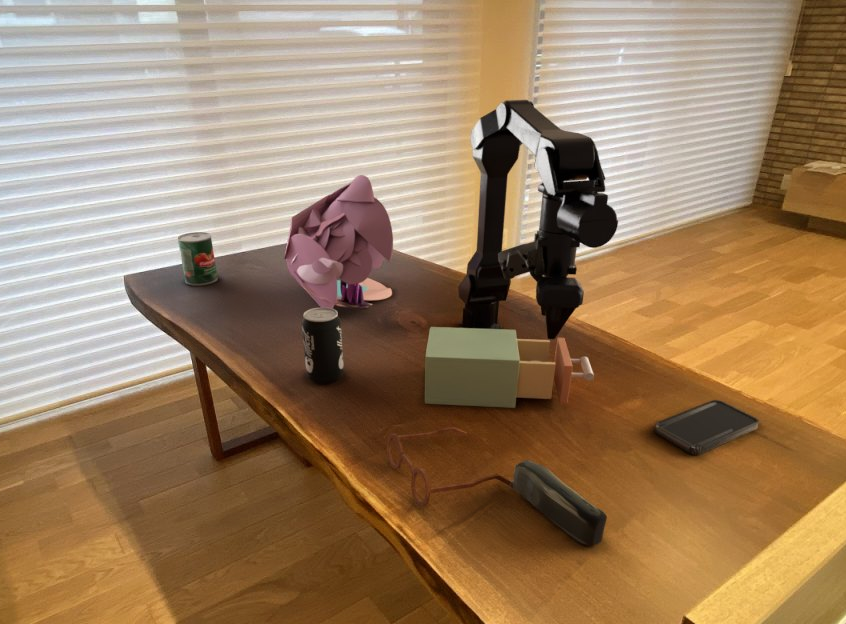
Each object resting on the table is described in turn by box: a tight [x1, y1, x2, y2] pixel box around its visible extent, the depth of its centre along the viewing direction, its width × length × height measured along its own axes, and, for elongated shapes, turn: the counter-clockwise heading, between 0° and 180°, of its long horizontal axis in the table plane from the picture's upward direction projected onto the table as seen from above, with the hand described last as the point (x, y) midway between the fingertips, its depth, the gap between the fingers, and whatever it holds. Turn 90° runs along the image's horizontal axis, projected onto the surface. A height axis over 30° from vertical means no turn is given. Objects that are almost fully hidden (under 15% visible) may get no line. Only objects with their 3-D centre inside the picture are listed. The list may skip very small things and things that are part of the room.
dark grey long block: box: [507, 459, 608, 547], centre depth 76 cm, size 5×3×15 cm
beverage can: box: [301, 306, 345, 385], centre depth 106 cm, size 7×7×12 cm
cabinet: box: [424, 326, 520, 409], centre depth 103 cm, size 15×12×9 cm
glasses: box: [386, 426, 513, 507], centre depth 83 cm, size 13×13×5 cm
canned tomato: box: [176, 231, 219, 287], centre depth 151 cm, size 8×8×11 cm
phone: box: [653, 399, 760, 456], centre depth 93 cm, size 8×1×15 cm
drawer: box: [516, 337, 595, 404], centre depth 102 cm, size 18×10×7 cm, turn 84°
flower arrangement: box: [284, 174, 394, 309], centre depth 138 cm, size 35×24×28 cm
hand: (547, 326), depth 98 cm, fingers open, 9 cm apart
